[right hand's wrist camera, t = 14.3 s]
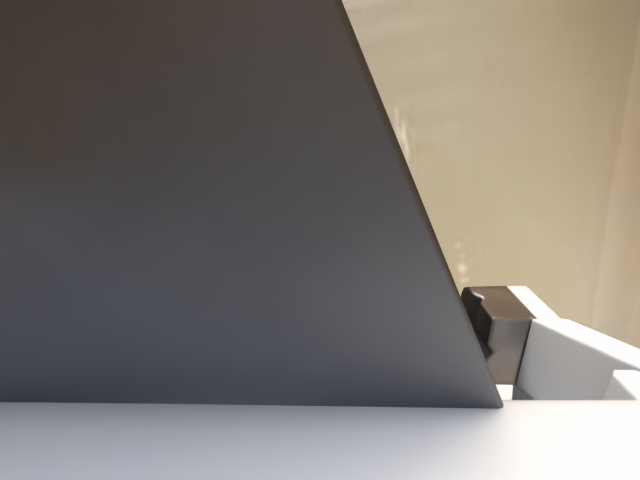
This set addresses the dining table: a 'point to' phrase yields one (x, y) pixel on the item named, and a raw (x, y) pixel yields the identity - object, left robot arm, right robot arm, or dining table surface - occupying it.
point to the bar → (214, 215)
